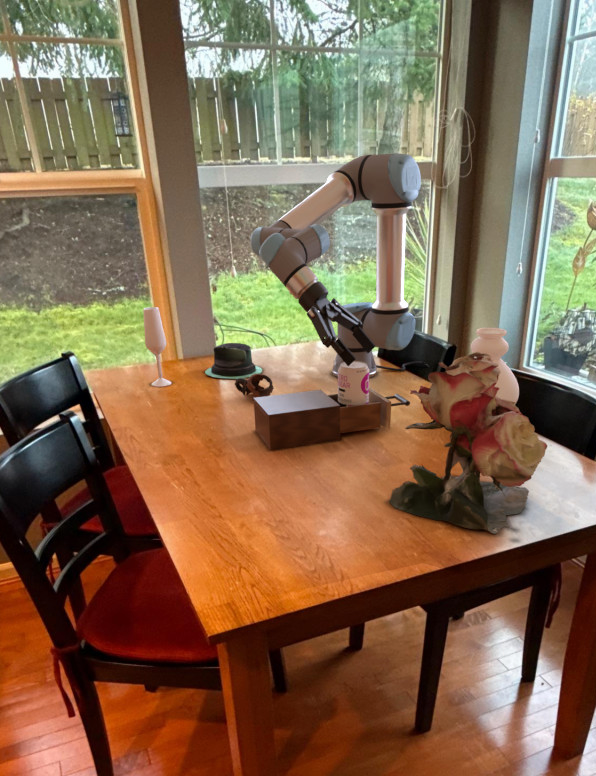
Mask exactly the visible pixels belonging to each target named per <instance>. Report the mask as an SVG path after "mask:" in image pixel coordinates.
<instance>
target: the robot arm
mask: <svg viewBox="0 0 596 776" xmlns="http://www.w3.org/2000/svg"><path fill="white" fill-rule="evenodd" d="M421 176H422V175H421V170H420V168H419V165H418V163H417V162H416V160H415V158H414V157H413V156H412V155H410V154H407V153H399V152H395V153H382V154H381V153H379V154H378V153H377V154H364V155H359V156H358V157H355V158H353V159H351V160H350V161H348V162H346V163H344V164H343V165H341V166H340V167H338V168H337V169H336V170H334V171H333V172H332V173H331V174H329V175H328V177H327V179H326V182H325V183H324V184H323V185H321V186H320V187H319V188H317V189H316V190H315V191H313V192H312V193H310V195H308V196H307V197H306V198H305V199H303V200H302V201H301V202H299V203H298V204H297V205H295V207H292V208H291V209H290V210H289V211H288V212H287V213H285V214H284V215H282V216H281V217H280V218H279V219H278V220H276V221H275V222H273V223H272V224H270V225H269V226H259V227H256V228H255V229H254V230H253V232H252V233H251V235H250V247H251V250H252V252H253V253H254V254H255V255H256V256H258V257H260V258H261V260H262V261H263V262H264V263H265V265H266V267H267V268H268V269H269V270H270V271H271V272H272V273H273V274H274V276H275V277H276V279H278V281H280V282H281V284H282V285H283V286H284V287H285V288H286V290H287V291H288V293H289V295H292V297H293V298H294V299H295V300H297V303H298V304H299V305H300V307H301V308H302V309H303V311H305V312H306V316H307V317H308V318H309V320H310V322H311V323H312V325H313V328H314V329H315V331H316V333H317V336H318V337H319V339H320V341H321V344H322V345H323V346H324V347H326V348H328V349H329V348H330V347H331V348H332V349H333V350H334V351H335V353H336V355H335V359H333V361H332V364H333V365H332V375H333V377H336V378H338V369H339V367H340V364H341V363H343V362H345V363H346V364H347V366H349V365H350V364H351V363H352V362H353V361H359V362H364V363H366V364H367V366H368V368H369V379H370V378H373V377H375V376H376V375H377V374H378V373H377V372H378V371H377V369H383V370H387V371H394V372H395V371H396V372H403V371H405V370H406V367H407V366H413V365H423V366H425V367H426V368H430V365H428V364H427V363H426V364H422V362H423V361H418V360H417V361H411V362H410V361H409V362H407V363H403V364H402V365H401V368H395V367H388V366H383V365H377V364H376V359H375V356H374V353H373V350H374V349H375V348H379V349H385V350H387V351H401V350H404V349H405V348H406V347H407V346H408V345H409V344H410V343H411V340H412V339H413V337H414V335H415V330H416V318H415V316H414V315H413V314H412V313H411V312H409V303H408V302H407V301H406V300H405V297H404V296H405V262H406V231H407V230H406V228H407V227H406V226H407V213H408V212H409V211H410V210H411V209H412V202H413V201H414V200H416V199H417V198H418V196H419V192H420V190H421V186H422V185H421V183H422V177H421ZM360 201H371V205H370V206H371V210H372V211H373V212H374V213H375V215H376V231H375V233H376V235H375V238H376V239H375V243H376V244H375V245H376V246H375V248H376V249H375V251H376V253H375V256H376V257H375V259H376V261H375V266H376V267H375V283H376V284H375V300H374V302H371V301H362V302H361V301H360V302H353V303H346V304H343V305H342V304H341V303H340V302H339V301H338V300H337V299H336V298H335V297H333V298H332V299H331V300H329V298H328V296H329V289H327V287H326V286H325V285H324V284H323V283H322V281H318V279H319V278H318V276H317V275H316V274H315V273H314V272H313V270H312V269H311V268H310V267H309V266H308V264H309V263H311V262H313V261H314V260H316V259H320V258H321V256H323V255H324V254H325V253H327V251H328V250H329V249H330V244H331V240H330V236H329V232H328V231H327V230H326V228H325V227H324V226H322V225H321V224H322V223H323V222H325V220H327V219H328V218H330V216H332V215H333V214H334V213H335V212H337V211H338V210H339V209H340V208H347V207H348V206H350V205H352V204H353V203H355V202H360ZM333 323H337V334H336V331H335V328H334V325H333Z"/></svg>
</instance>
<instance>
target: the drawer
mask: <svg viewBox="0 0 596 776" xmlns="http://www.w3.org/2000/svg"><path fill="white" fill-rule="evenodd" d="M327 395H328V396H329V397H330V398H331V399H333V400H334V401H335V402H336V403H338V393H332V394H327ZM393 399H395V400H397V401H398V402H393V403H392V401H391V400H393ZM410 404H411V402H410V401H409V400H408V399H407V398H405V397H404V396H402V395H400V394H398V393H395V394H394V395H389V396H383V394H381V393H379V392H377V391H376V390H375V389H374V388H372V387H369V404H361V405H353V406H346V407H340V434H346V433H352V432H359V431H366V430H372V429H379V428H380V429H381V427H383V428H384V429H385V430H389V429H391V420H392V419H391V417H392V407H397V406H406V407H409V406H410Z"/></svg>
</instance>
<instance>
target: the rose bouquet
mask: <svg viewBox="0 0 596 776" xmlns="http://www.w3.org/2000/svg"><path fill="white" fill-rule="evenodd" d="M475 357H477V358H475ZM438 365H439V367H440V368H441V369H442V368H444V369H445V371H444V372H442V371H435V372H430V373H429V374H428V376H427V377H428V378H427V379H428V381H430V383H431V385H430V386H429V387H427V386H424V385H420V386H419V390H416V389H413V390H412V389H410V391H409V393H410V395H415V396H417V398H418V399H419V400H420V404H421V405H422V408H423V411H424V412H425V413H426V414H427V415H428V416H429V418H430V419H431V420H432V421H429V422H415V423H412V424H409V425H407V426H406V427H404V429H405V430H412V429H413V430H425V431H426V430H427V431H429V430H438V429H445V431H447V432H450V435H449V439H450V440H449V441H450V442H447V443H444V448H448V451H447V455H446V459H445V468H444V476H443V477H439V476H437V475H438V474H437V473H436V472H433V471H431V470H429V469H427V468H426V467H425V466H423V465H418V464H412V465H411V466H410V467H409V469H410V470H411V472H412V478H413V479H414V480H415V482H413V481H411V480H406V481H404V482H403V483H402V484H401V485H400V486H399V487H395V488H394V489H392V490H391V495H390V498H389V500H388V503H389V504H390V505H392V507H393V508H395V509H398V510H399V511H403V512H405V513H409V514H411V515H414V516H417V517H423V518H426V519H431V520H434V521H445V522H447V523H450V524H453V525H455V526H458V527H461V528H465V529H469V530H475V531H477V530H485V531H487V532H488V533H491V534H494V535H495V534H498V533H500V530H501V529H502V528H504V527H505V528H508V529H511V530H515V531H516V529H515V528H512V527H510V526H509V523H508V521H507V516H511V515H517V514H521V513H522V512H523V510H524V508H526V505H527V502H528V496H529V493H530V490H529V489H528V488H526V487H524V486H523V485H524V484H525V482H528V481H529V480H531V479H532V476H533V475H534V473H535V472H536V470H537V468H538V466H539V464H540V463H541V462H542V459H543V458H544V457H545V454H546V450H547V449H548V444H547V443H546V442H545V441H542V440H541V439H540V438H539V436H538V435H539V434H538V433H536V432H535V430H536V428H535V426H534V425H533V424H532V423H531V422H530V420H529V417H528V416H526V415H523V413H522V412H521V411H520V409H519V407H518V406H516V404H515V402H512V401H508V400H504V399H500V398H498V397H497V396H496V394H497V391H498V390H499V388H498V387H494V386H495V385H496V383H497V381H498V376H499V374H500V369H499V368H496V367H498V366H499V365H498V364H496V363H493V361H492V360H491V356H489V355H488V354H484V353H483V354H482V353H480V352H475V353H473V352H472V353H470V354H467V355H465V356H460V357H458V358H456V359H454V360H453V361H452V364H450V365H449V366H448V365H446V364H445V363H444V361H441V362H438ZM458 463H459V465H460V467H461V469H462V472H461V474H460V475H459V476H453V475H452V473H451V472H452V469H453V468H454V467H455V466H456V465H457V464H458ZM481 476H483V477H486V476H487V478H488V477H490V478H491V480H492V482H489V481H481ZM484 480H485V479H484ZM521 486H523V487H521Z"/></svg>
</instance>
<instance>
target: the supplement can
mask: <svg viewBox="0 0 596 776" xmlns="http://www.w3.org/2000/svg"><path fill="white" fill-rule="evenodd" d="M369 388H370V378H369V368H368V366H367V364H366V363H364V362H359V361H353V362H352V363H351V364H350V365H349V366H347V364H346V363H345V362H343V363H341V364H340V367H339V369H338V377H337V394H338V404H339V405H340V407H346V406H353V405H361V404H369Z"/></svg>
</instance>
